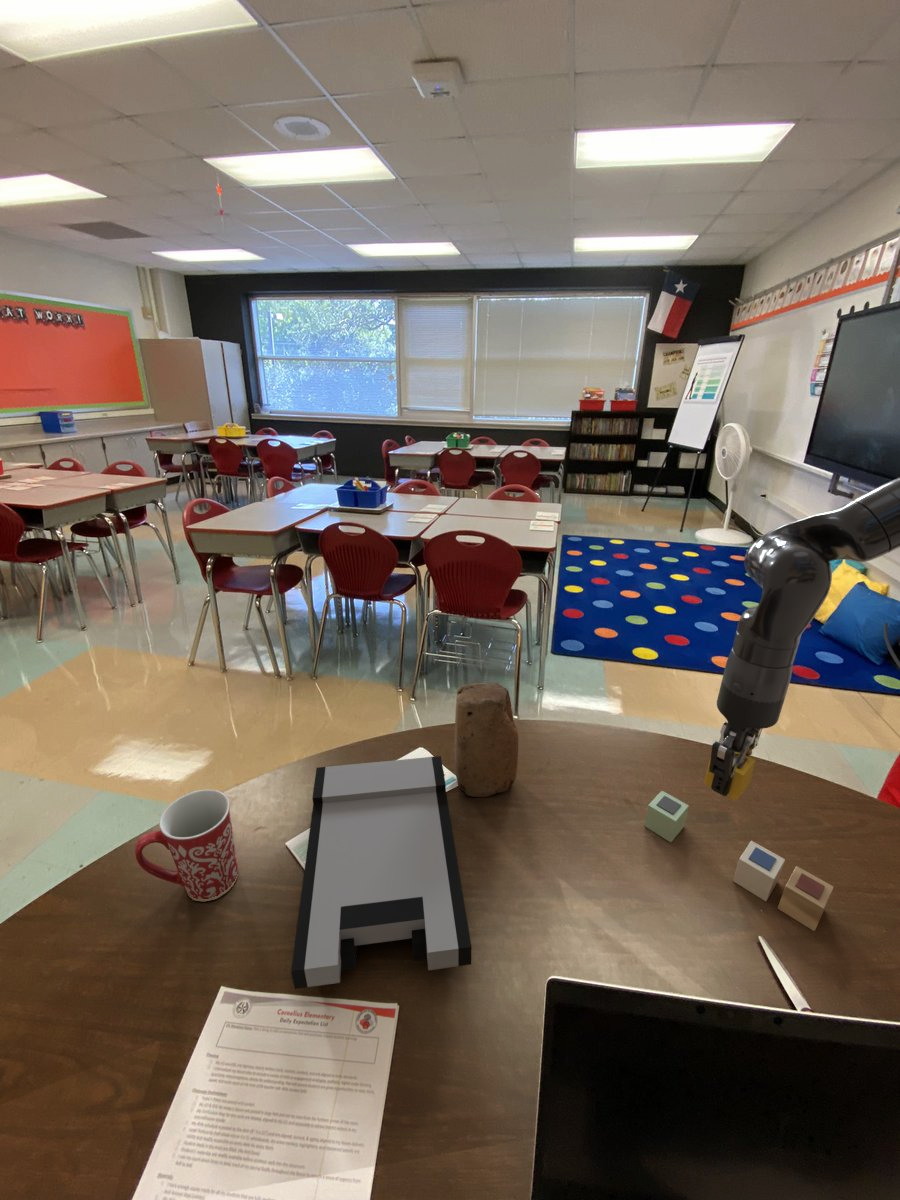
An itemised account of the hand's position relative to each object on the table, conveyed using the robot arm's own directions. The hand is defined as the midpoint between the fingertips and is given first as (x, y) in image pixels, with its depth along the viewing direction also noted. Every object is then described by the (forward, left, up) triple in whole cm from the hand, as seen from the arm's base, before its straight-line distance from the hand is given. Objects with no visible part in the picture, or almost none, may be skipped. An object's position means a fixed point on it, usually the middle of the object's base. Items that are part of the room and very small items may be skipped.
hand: (726, 782), depth 78 cm
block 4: (+1, +13, -14) cm, 19 cm away
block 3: (+1, +7, -14) cm, 15 cm away
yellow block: (0, 0, 0) cm, 0 cm away
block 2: (+1, -7, -14) cm, 15 cm away
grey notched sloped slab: (+40, -31, -14) cm, 52 cm away
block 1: (+15, -34, -14) cm, 40 cm away
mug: (+60, -49, -14) cm, 78 cm away
